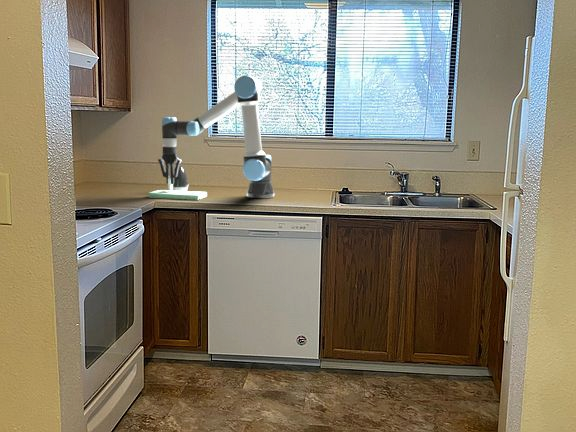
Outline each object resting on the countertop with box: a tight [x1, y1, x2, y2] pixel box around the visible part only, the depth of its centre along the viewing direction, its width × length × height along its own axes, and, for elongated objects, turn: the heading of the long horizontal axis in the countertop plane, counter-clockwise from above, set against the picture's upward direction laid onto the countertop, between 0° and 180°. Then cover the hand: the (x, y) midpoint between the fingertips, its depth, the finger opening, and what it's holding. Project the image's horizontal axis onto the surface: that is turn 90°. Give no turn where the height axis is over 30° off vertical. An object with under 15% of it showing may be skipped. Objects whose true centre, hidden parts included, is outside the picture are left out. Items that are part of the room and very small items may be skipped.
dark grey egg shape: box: [173, 165, 190, 191], centre depth 336 cm, size 10×10×15 cm
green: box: [147, 189, 208, 201], centre depth 320 cm, size 28×14×2 cm, turn 78°
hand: (170, 190), depth 320 cm, fingers closed
